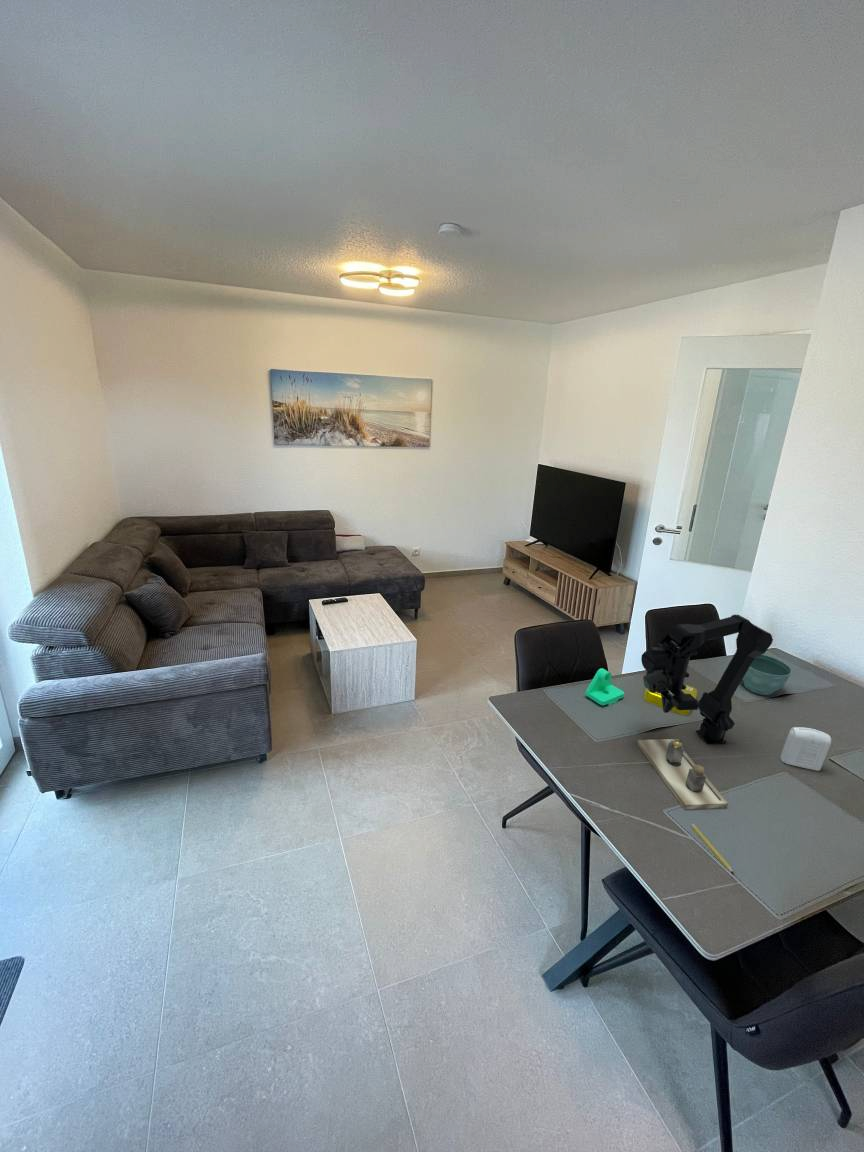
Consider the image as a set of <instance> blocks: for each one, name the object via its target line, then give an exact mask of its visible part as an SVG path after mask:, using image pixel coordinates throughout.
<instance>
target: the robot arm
mask: <svg viewBox="0 0 864 1152" xmlns="http://www.w3.org/2000/svg"><path fill="white" fill-rule="evenodd" d="M735 634H737V636H736V639H735V644H736V651H735V652H734V654H733V655H732V658H731V660H730V661H729V663H728V665H727V666H726V669H725V670H724V672H723V673H722V676H721V678H720V680H719V681H718V683H717V685H716V686H715V688H714V689H713V690H711V691H709V692H707V691H705V692H703V693H702V696H701V698H700V699H699V700H697V699H695V698H694V697H693V696H692V695H691V694H686V693H685V692H684V691H683V689H686V686H685V685H686V684H685V680H686V678H689V677H690V673H688V667H689V663H690V660H691V656H697V655H698V652H697V650H695V649H699V648H700V647H701V646H703V644H704V643H705V642H707V641H711V640H715V639H719V638H723V637H727V636H730V635H735ZM773 641H774V638H773V635H772V634H771V633H770V632H768V631H766V630H764V629H762V628H761V627H759V626H757V625H755V624H754V623H752V622H751V621H750V620H749V619H748V618H746V617H744V616H741V615H739V614H732V615H730V617H724V618H721V619H717V620H713V621H709V622H706V623H700V624H692V623H680V624H679V623H678V624H674V625H673V626H672V627H671V629H669V631H667V633H666V634H665V635H664V636H663V637H662V638H661V639H660V640H659V642H658V645H659V647H654V646H652V647H648V650H645V651H644V652H643V653H642V654H641V658H640V659H641V664H642V666H643V669H644V670H645V671H646V674H645V675H643V677H642V679H643V684H644V687H645V689H646V688H647V689H648V690H649V691H650V692H651V693H655V692H657V693H661V698H662V705H663V708H662V711H663V712H664V714H665V713H666V714H667V713H669V712H671V711H670V710H671V709H672V708H673V707H674V706H675V707H676V708H677V709H678V710H690V711H697V710H699V714H700V715H701V716H703V717H704V718H702V722H701V723H700V726H699V729H696V733H697V734H698V735H699V736H700V737H701V739H702V740H703V741H704V742H705V743H706V744H708V745H719V744H720V745H721V744H727V740H725V735H726V732H728V731H729V730H732V729H733V727H734V726H735V724H736V723H735V721H734V720H733V719H732V718H731V716H730V715H731V712H732V709H733V702H732V697H734V695H735V693H736V691H737V689H738V688H739V687H740V684H741V682H742V681H743V677H744V676H745V674H746V672H747V670H748V669H749V667H750V665H751V663H752V662H753V660H754V658H756V657H758V656H760V655H762V654H763V655H765V653H766V652H767V651H768V649H769V648H770V647H771V645H772V643H773ZM670 642H672V643H673V644H674V645H676V646H674V645H673V644H672V643H670ZM684 684H685V685H684Z"/></svg>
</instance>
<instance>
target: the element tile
mask: <svg viewBox="0 0 864 1152" xmlns="http://www.w3.org/2000/svg"><path fill="white" fill-rule="evenodd" d="M684 685H685V686H686V689H683V691H684V692H685V693H686V694H691V695H692V696H693V697H694V698H695V699H696V698H697V694H698V690H697V688H696V687H693V686H691V685H688V684H685V683H684ZM643 700H644V701H645V702H646V701H647V702H646V703H648V702H649V703H648V704H651V703H652V704H651V705H654V706H656V707H660V708H662V709H663V705H662V698H661V693H657V692H655V693H651V692H650V691H649V690H648V689H647V688H646V687H645V692H644V695H643ZM696 700H697V699H696ZM669 712H673V713H675V714H679V715H682V716H689V714H690V713H691V710H678V709H677V708H676V707H675V706H674V707H673V708H672V709H671V710H670V711H669Z"/></svg>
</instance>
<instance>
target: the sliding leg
mask: <svg viewBox="0 0 864 1152" xmlns="http://www.w3.org/2000/svg"><path fill="white" fill-rule="evenodd" d="M672 739H673V743H669V744H668V748H667V752H666V756H665V757H666V758H667V759H668V760H669V762H670V763H671V764H674V763H681V760H682V756H683V753H684V751H685V748H684V747H683V741H682V740H681V739H679V738H672Z"/></svg>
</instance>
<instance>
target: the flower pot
mask: <svg viewBox="0 0 864 1152" xmlns="http://www.w3.org/2000/svg"><path fill="white" fill-rule="evenodd" d="M792 673H793V671H792V669H791V666H789V665H788V664H787V663H785V662H784V661H782V660H780V659H778V658H775V657H773V656H769V655H766V654H762V655H760V656H758V657H756V658H754V660H753V662H752V663H751V665H750V667H749V669H748V670H747V672H746V674H745V676H744V677H743V679H742V681H743V685H744V686H743V687H745V688H746V689H747V690H748V691H750V692H752V693H755V694H758V695H761V696H771V695H773V694H774V692H775V691H778V690H779V689H781V688H782V687H783V686H784V685H785V684H786V683H787V682H788V679H789V677H790V676H791V675H792Z"/></svg>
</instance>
